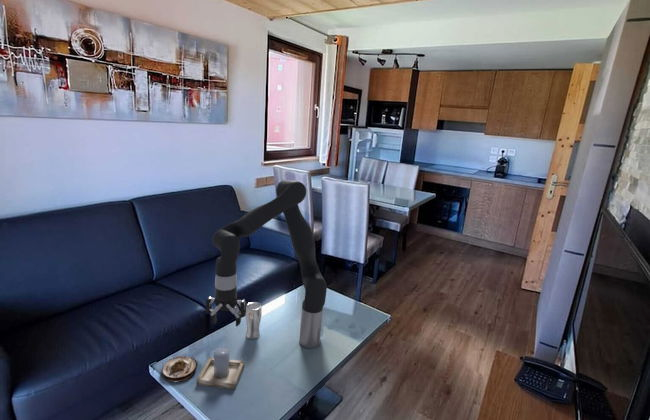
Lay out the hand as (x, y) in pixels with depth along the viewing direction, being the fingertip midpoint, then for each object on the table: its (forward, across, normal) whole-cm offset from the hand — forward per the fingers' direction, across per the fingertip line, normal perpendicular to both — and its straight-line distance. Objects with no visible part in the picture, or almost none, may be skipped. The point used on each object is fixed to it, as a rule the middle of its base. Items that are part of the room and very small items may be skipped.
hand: (226, 324), depth 124 cm
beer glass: (+21, -4, -24) cm, 32 cm away
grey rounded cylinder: (+20, +1, +2) cm, 20 cm away
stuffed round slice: (+21, +17, +2) cm, 27 cm away
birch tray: (+21, +1, +2) cm, 21 cm away
